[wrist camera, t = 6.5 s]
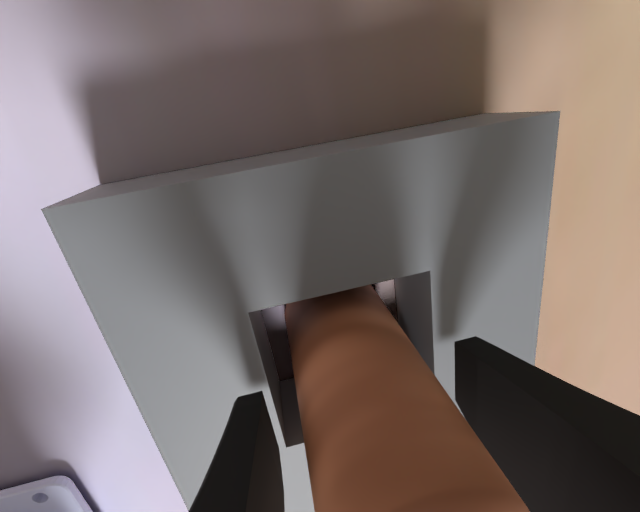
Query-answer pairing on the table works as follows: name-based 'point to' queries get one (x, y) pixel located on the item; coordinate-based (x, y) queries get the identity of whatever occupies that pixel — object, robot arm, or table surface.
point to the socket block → (309, 266)
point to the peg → (382, 417)
